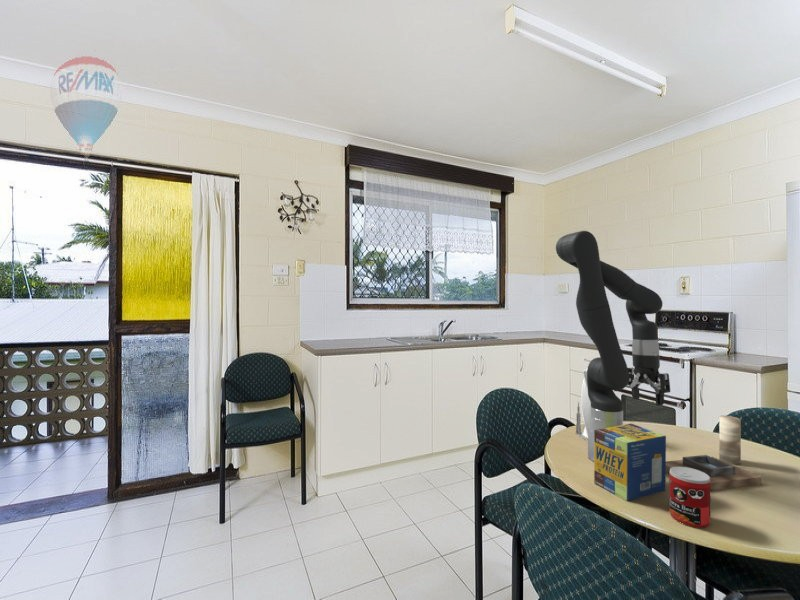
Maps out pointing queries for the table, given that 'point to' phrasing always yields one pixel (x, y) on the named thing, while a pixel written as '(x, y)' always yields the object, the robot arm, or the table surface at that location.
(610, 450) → the protein box
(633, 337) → the robot arm
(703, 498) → the canned food
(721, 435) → the birch column
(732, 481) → the base board
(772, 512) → the table surface
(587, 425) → the skyscraper
